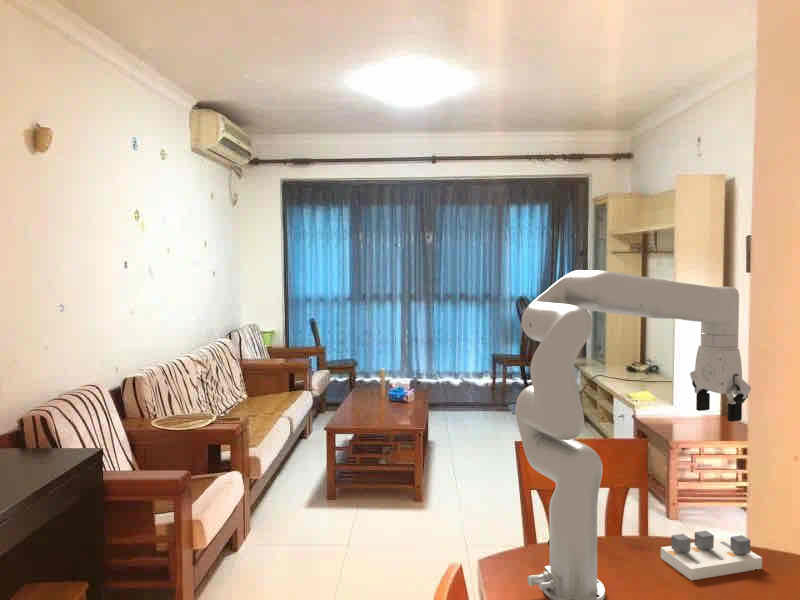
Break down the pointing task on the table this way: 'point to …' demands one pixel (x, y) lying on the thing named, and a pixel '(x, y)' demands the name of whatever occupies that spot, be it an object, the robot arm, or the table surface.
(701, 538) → the middle switch
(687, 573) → the switch box
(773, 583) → the table surface
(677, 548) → the left switch
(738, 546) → the right switch
